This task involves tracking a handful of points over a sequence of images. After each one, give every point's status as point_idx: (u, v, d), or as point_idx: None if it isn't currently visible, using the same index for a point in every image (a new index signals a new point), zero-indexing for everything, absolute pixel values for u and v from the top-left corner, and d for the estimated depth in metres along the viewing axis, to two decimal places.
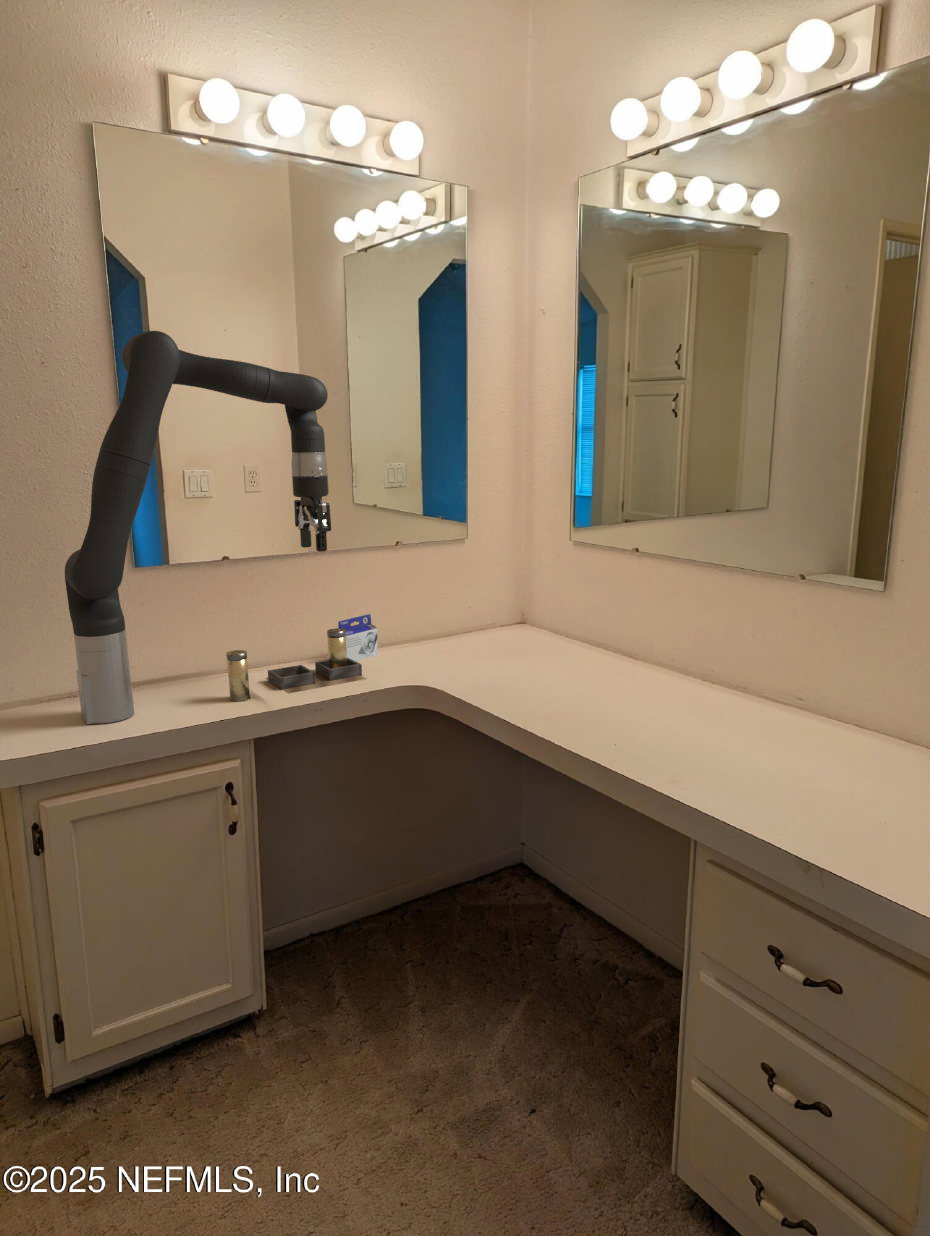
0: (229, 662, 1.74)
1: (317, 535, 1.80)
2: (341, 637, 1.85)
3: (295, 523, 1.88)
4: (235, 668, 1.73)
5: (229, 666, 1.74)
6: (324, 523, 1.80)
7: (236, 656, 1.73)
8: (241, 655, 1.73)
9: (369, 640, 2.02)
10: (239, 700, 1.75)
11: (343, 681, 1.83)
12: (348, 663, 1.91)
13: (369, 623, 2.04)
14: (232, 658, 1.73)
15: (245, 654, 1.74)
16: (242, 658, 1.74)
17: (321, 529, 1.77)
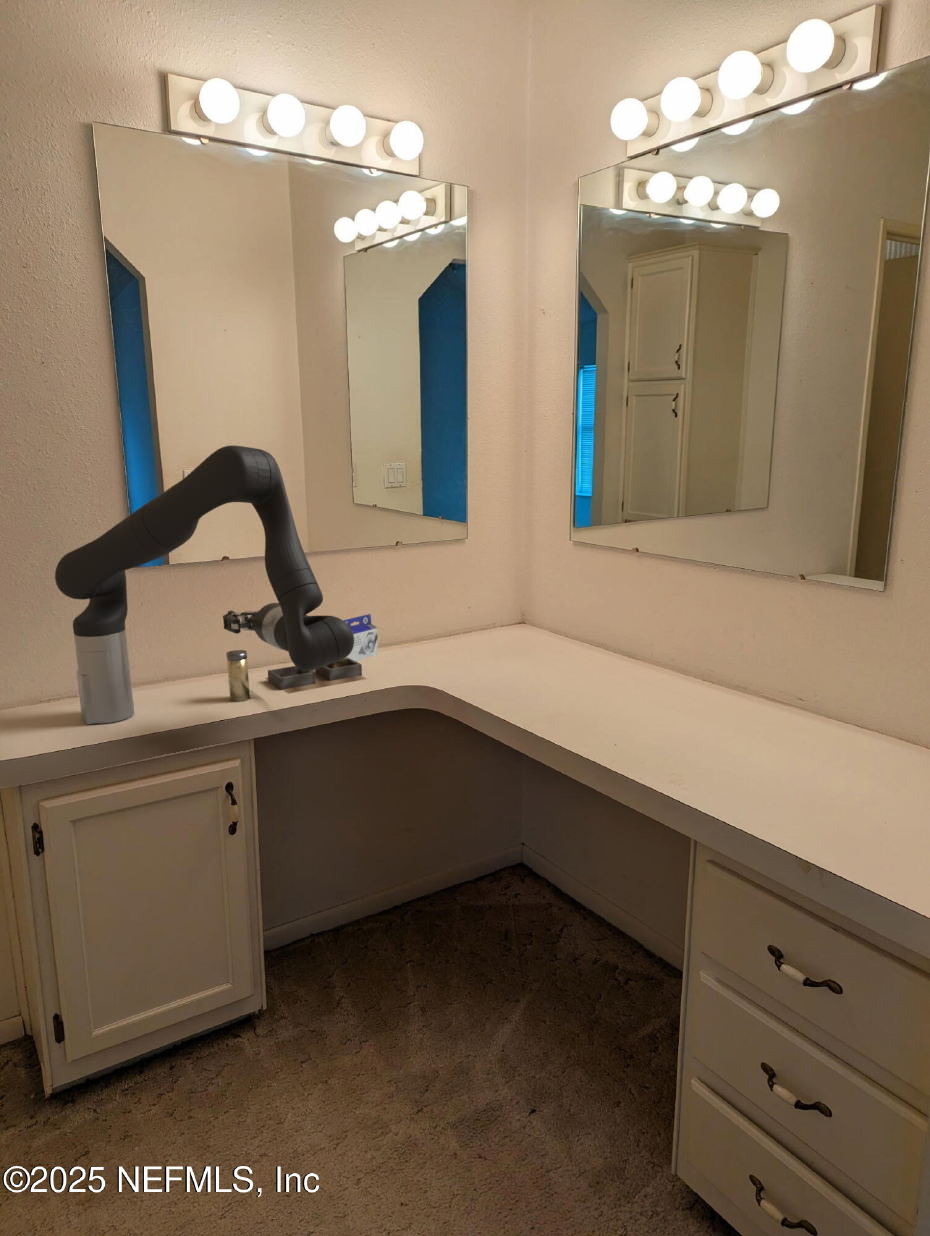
0: (229, 662, 1.74)
1: None
2: None
3: None
4: (235, 668, 1.73)
5: (229, 666, 1.74)
6: None
7: (236, 656, 1.73)
8: (241, 655, 1.73)
9: (369, 640, 2.02)
10: (239, 700, 1.75)
11: (343, 681, 1.83)
12: (348, 663, 1.91)
13: (369, 623, 2.04)
14: (232, 658, 1.73)
15: (245, 654, 1.74)
16: (242, 658, 1.74)
17: (223, 616, 1.56)
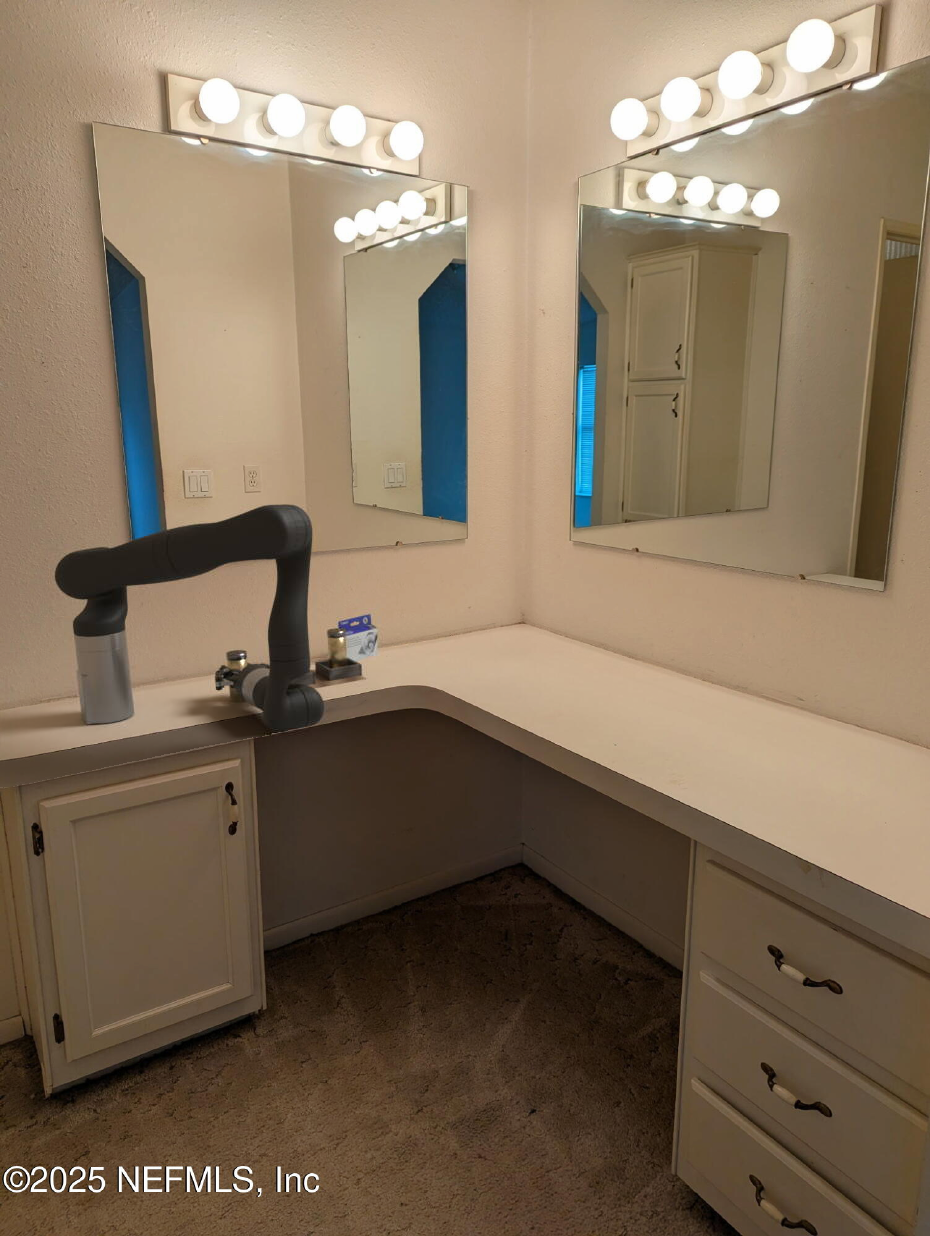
0: (229, 662, 1.74)
1: None
2: (341, 637, 1.85)
3: (262, 663, 1.76)
4: None
5: (229, 666, 1.74)
6: None
7: (236, 656, 1.73)
8: (241, 655, 1.73)
9: (369, 640, 2.02)
10: (239, 700, 1.75)
11: (343, 681, 1.83)
12: (348, 663, 1.91)
13: (369, 623, 2.04)
14: (232, 657, 1.73)
15: (245, 654, 1.74)
16: (242, 658, 1.74)
17: None
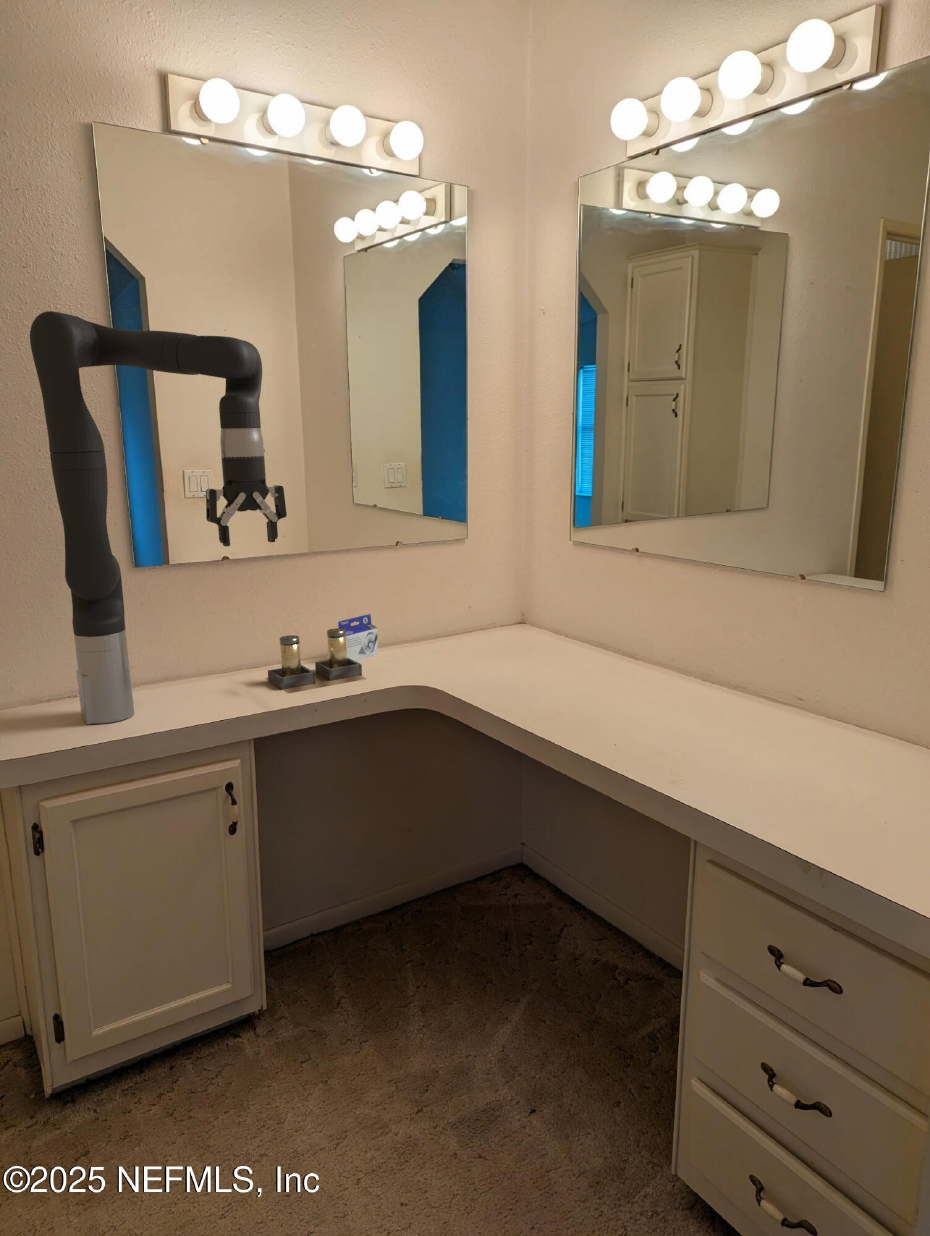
0: (282, 647, 1.79)
1: None
2: (341, 637, 1.85)
3: None
4: (288, 652, 1.79)
5: (282, 651, 1.79)
6: (225, 513, 1.52)
7: (289, 641, 1.79)
8: (294, 640, 1.79)
9: (369, 640, 2.02)
10: None
11: (343, 681, 1.83)
12: (348, 663, 1.91)
13: (369, 623, 2.04)
14: (286, 642, 1.79)
15: (298, 639, 1.80)
16: (295, 643, 1.79)
17: (207, 519, 1.52)
